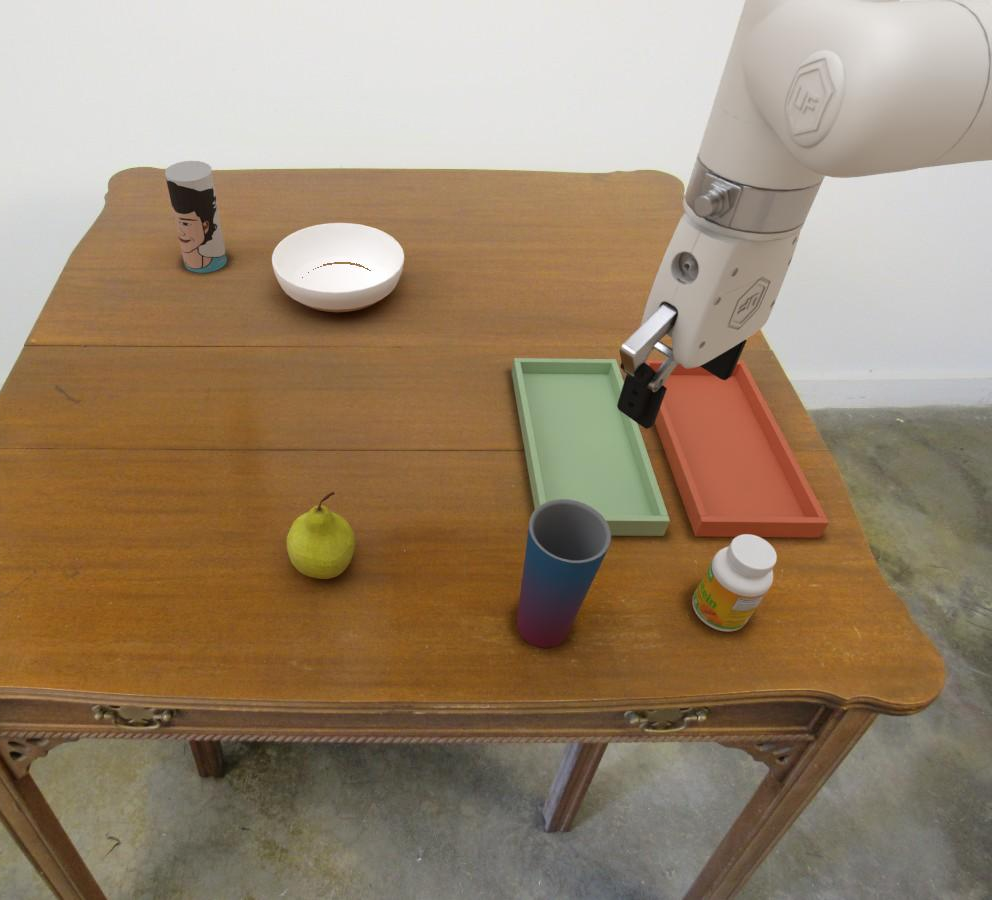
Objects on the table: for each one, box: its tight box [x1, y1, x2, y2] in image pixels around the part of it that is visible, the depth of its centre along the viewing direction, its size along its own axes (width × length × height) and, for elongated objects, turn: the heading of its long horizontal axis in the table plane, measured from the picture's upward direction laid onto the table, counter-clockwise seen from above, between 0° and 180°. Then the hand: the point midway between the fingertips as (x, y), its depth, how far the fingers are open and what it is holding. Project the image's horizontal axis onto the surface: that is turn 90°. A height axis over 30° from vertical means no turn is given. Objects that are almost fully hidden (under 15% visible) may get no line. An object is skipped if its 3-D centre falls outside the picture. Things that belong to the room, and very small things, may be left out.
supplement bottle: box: [691, 534, 778, 633], centre depth 70 cm, size 5×5×10 cm
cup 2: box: [516, 499, 612, 649], centre depth 67 cm, size 7×7×15 cm
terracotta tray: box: [646, 358, 830, 539], centre depth 89 cm, size 28×14×3 cm, turn 0°
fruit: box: [286, 491, 356, 580], centre depth 73 cm, size 7×7×12 cm
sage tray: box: [511, 357, 671, 537], centre depth 89 cm, size 28×14×3 cm, turn 0°
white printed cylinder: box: [164, 160, 228, 274], centre depth 113 cm, size 7×7×15 cm
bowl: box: [271, 222, 405, 313], centre depth 111 cm, size 20×20×6 cm
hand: (674, 393), depth 59 cm, fingers open, 9 cm apart
